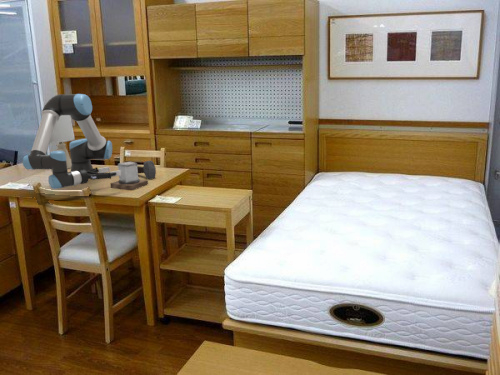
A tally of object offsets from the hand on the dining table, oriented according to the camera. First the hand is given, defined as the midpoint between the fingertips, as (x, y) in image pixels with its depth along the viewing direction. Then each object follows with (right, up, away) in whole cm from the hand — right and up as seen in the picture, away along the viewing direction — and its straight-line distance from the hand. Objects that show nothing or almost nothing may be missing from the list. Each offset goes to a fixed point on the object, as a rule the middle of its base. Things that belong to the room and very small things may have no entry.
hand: (114, 170), depth 281 cm
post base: (+6, -9, +8) cm, 14 cm away
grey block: (+6, -5, +7) cm, 11 cm away
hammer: (+6, -3, +33) cm, 34 cm away
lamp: (-52, +4, +63) cm, 82 cm away
